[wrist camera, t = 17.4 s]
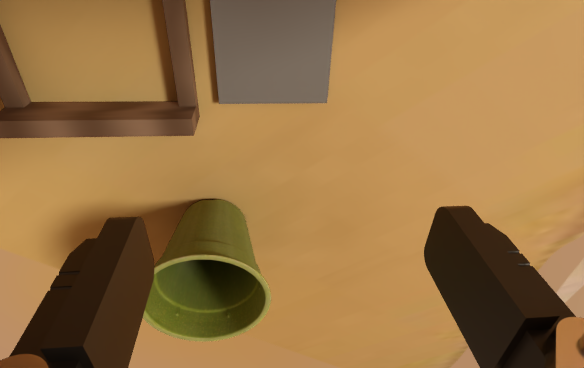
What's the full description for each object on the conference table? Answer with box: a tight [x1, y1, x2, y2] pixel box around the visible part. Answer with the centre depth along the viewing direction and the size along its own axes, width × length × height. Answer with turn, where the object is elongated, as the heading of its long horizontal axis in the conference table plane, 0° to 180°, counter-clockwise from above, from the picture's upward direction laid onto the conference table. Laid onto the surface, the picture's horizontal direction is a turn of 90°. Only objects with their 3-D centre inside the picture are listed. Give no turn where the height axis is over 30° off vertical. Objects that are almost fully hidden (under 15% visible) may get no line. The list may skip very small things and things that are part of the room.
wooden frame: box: [0, 0, 200, 138], centre depth 28 cm, size 16×14×4 cm
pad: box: [210, 0, 336, 104], centre depth 30 cm, size 10×11×1 cm
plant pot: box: [143, 199, 271, 341], centre depth 37 cm, size 12×12×11 cm
